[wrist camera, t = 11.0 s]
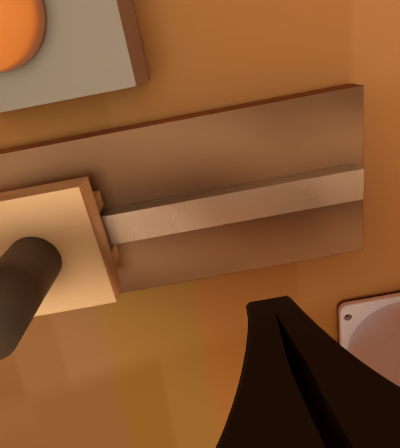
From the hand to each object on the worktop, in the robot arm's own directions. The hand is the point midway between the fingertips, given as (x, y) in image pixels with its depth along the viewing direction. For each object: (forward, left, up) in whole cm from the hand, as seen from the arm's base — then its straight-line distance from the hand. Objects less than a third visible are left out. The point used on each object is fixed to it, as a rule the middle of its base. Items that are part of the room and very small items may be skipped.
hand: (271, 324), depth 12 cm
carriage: (+1, +10, -9) cm, 13 cm away
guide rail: (+1, +4, -9) cm, 10 cm away
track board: (+1, +4, -10) cm, 11 cm away
